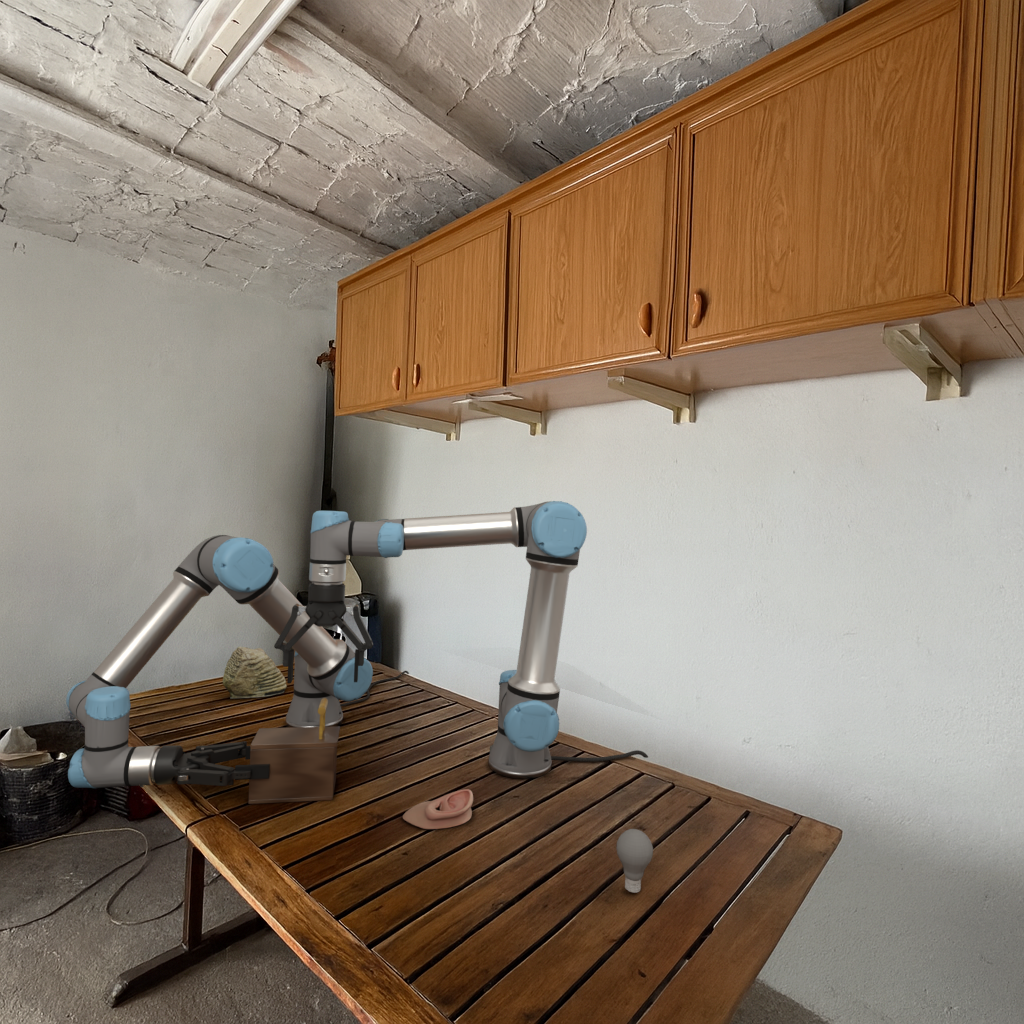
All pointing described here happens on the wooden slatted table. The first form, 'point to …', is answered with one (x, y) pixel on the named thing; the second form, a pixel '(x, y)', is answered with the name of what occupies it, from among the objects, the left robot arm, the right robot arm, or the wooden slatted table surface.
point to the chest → (294, 775)
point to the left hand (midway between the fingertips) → (273, 761)
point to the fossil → (252, 674)
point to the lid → (298, 735)
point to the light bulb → (634, 857)
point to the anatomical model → (442, 811)
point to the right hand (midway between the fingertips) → (323, 681)
